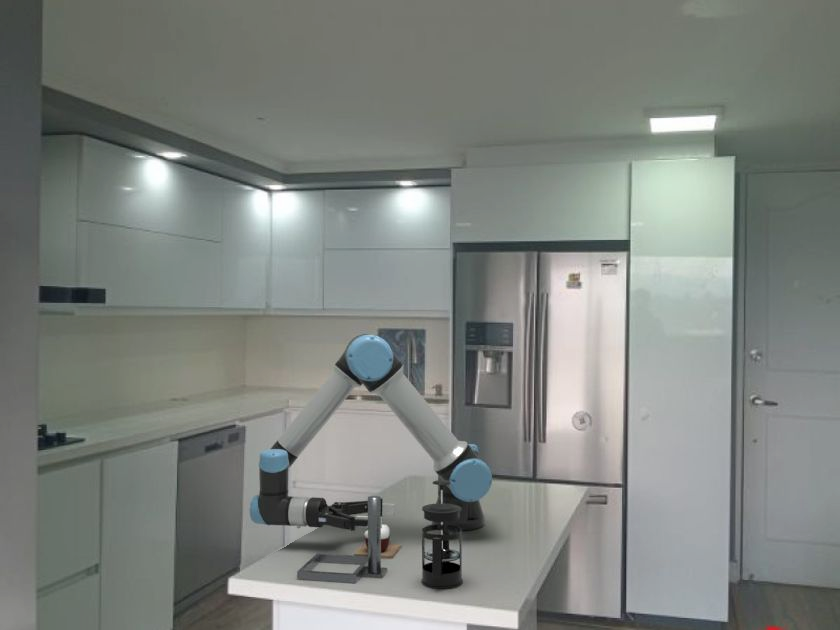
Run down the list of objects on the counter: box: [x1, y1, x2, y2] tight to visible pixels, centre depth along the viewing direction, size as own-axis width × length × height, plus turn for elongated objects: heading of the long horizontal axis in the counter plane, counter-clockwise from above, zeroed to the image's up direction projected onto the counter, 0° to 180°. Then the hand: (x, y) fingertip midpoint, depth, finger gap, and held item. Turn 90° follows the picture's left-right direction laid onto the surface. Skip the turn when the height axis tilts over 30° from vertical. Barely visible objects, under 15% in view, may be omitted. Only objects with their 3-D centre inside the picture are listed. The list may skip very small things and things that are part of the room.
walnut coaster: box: [353, 542, 403, 559], centre depth 203 cm, size 10×10×1 cm
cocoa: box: [364, 497, 391, 552], centre depth 202 cm, size 10×6×12 cm, turn 155°
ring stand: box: [296, 495, 388, 584], centre depth 187 cm, size 19×14×18 cm
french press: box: [420, 479, 464, 590], centre depth 179 cm, size 12×9×23 cm
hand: (388, 515), depth 202 cm, fingers open, 13 cm apart
